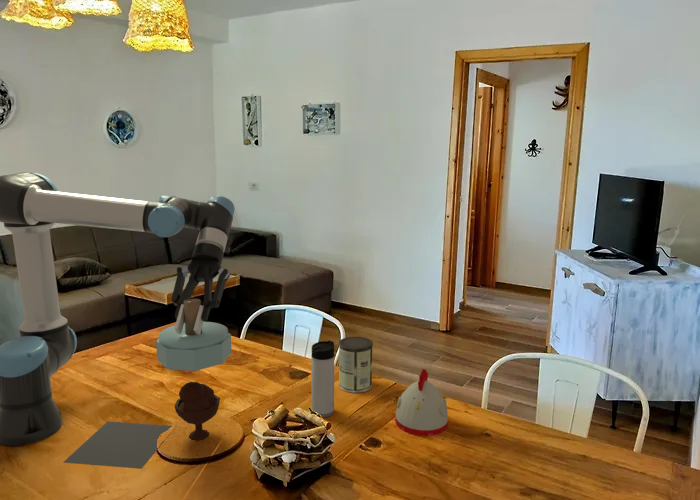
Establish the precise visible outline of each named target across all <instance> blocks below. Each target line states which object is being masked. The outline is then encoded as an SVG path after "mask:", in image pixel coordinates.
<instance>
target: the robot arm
mask: <svg viewBox="0 0 700 500" xmlns="http://www.w3.org/2000/svg"><path fill="white" fill-rule="evenodd" d="M235 208H236V207H235V205H234V203H233V202H232V200H230V199H229V198H228V197H225V196H222V195H217V196H216V195H214V196H211V197H210V198H208V200H207V202H205V201H204V202H203V201H197V200H196V201H195V200H192V199H187V198H181V197H177V196H175V195H173V196H171V195H161V196H160V197H159V198H158V200H157V201H148V200H147V201H146V200H138V199H128V198H122V197H121V198H120V197H111V196H101V195H91V194H82V193H73V192H64V191H58V188H57V186H56V185H55V184H54V182H53V181H52V180H51V179H49V177H47V176H45V175H43V174H41V173H36V172H26V171H25V172H17V173H12V174H5V175H0V223H2V224H3V226H4V228H5V229H6V230H7V231H9V232H10V233H11V234H12V241H13V247H14V248H13V249H14V253H15V254H14V255H15V262H16V269H17V275H18V281H19V289H20V296H21V304H22V310H23V317H24V320H23V322H22V323H21V324H20V325H19V336H20V337H16V338H13V340H12V339H11V340H8V341H5V342H4V343H2V344H0V445H2V446H7V447H17V446H26V445H28V444H33V443H36V442H39V441H42V440H44V439H46V438H49V437H51V436H53V435H54V434H56V433H57V432H58V431H59V430H60V429H61V428H62V426H63V417H62V413H61V412H60V411H59V409H58V406H57V404H56V402H55V400H54V398H53V395H52V393H53V392H52V383H51V382H52V381H51V377H52V376H53V375H55V373H56V372H58V370H60V369H61V368H62V367H63V366H65V365H66V364H67V363H68V362H69V361H70V360H71V359H72V357H73V355H74V353H75V352H76V349H77V344H78V341H77V340H78V339H77V335H76V333H75V331H74V330H73V329H72V328H71V327H70V326H69V323H68V318H66V317H64V316H63V315H62V314H61V309H60V299H59V292H58V285H57V278H56V270H55V269H56V268H55V263H54V255H53V254H54V253H53V247H52V240H51V239H52V238H51V233H50V231H51V228H52V227H53V226H54V225H55V224H62V225H63V224H64V225H73V226H82V227H93V228H102V229H114V230H124V231H131V232H132V231H133V232H143V233H149V234H154V235H156V236H157V237H160V238H168V237H172V236H173V237H174V236H175V235H177V234H178V233H180V232H181V231H182V230H183V229H184V228H187V229H192V230H197V231H199V232H198V235H197V237H196V242H195V245H194V249H193V252H192V255H191V259H190V260H191V261H190V262H189V264H188V265H187V266H186V267H183V268H182V267H180V266H178V267H176V274H177V275H176V279H175V283H174V288H173V291H172V295H171V299H170V300H171V302H172V303H173V305H174V306H175V307H176V310H175V314H174V317H175V319H176V321H175V324H174V325H175V328H174V329H175V330H176V332H177V333H178V334H181V333H182V329H183V325H184V323H185V319H184V300H187V299H191V297H192V295H193V294H194V291H195V289H196V287H198V285H199V284H200V283H204V285H203V288H204V289H203V290H204V291H203V302H202V304H203V305H202V304H201V305H200V307H199V311H198V315H197V318H196V322H195V326H194V331H195V333H196V334H197V335H200V333H201V329H202V325H203V322H208V319H209V316H210V311H211V310H212V309H217V308H219V307H220V304H221V300H222V297H223V293H224V290H225V286H226V283H227V281H228V280H229V278H230V277H231V274H230V272H229V270H228V269H227V268H224V269H223V268H222V263H223V259H224V253H225V250H226V246H227V243H228V239H229V235H230V231H231V227H232V224H233V221H234V220H233V219H234V215H235ZM188 273H189V274H190V275H189V277H188ZM217 276H218V277H217ZM187 277H188V280H187V283H185V282H186V278H187ZM215 278H217V281H216V286H215V288H214V291H213V285H214V279H215ZM185 284H186V285H185ZM212 294H213V295H212Z"/></svg>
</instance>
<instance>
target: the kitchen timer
mask: <svg viewBox="0 0 700 500" xmlns="http://www.w3.org/2000/svg"><path fill="white" fill-rule="evenodd" d="M428 375H429V372H428V371H427V369H425V368H422V369H421V371H420V374H419V377H418V381H415V382H413V383H411V384H410V385H409V386H408V387H407V388H406V389H405V390H404V391H402V393H401V394H400V396H399V397H398V400H397V404H396V410H395V411H396V412H395V425H396V426H397V427H398V428H399V429H400V430H401V431H403V432H404V433H407V434H409V435H412V436H413V435H414V436H419V437H431V436H438V435H440V434H442V433H444V432H446V430H447V429H448V424H449V423H448V422H449V420H448V419H449V415H448V404H447V399H446V398H443V395H442V394H441V392H440V391H439V390H438V388H437V387H436V386H435V385H434V384H432V382H430V381H428V378H429V376H428Z"/></svg>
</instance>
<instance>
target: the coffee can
mask: <svg viewBox="0 0 700 500" xmlns="http://www.w3.org/2000/svg"><path fill="white" fill-rule="evenodd" d="M373 345H374V342H373V341H372V340H371V339H370V338H367V337H363V336H348V337H344V338H341V339H339V341H338V346H339V349H338V350H339V351H338V358H339V359H338V360H339V361H338V364H339V366H338V372H339V374H338V375H339V377H338V380H339V381H338V387H339V388H340V389H341V390H342V391H344V392H347V393H352V394H353V393H354V394H360V393H364V392H367V391H369V390H371V389H372V388H373V384H372V383H373V381H372V380H373Z"/></svg>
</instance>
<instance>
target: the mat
mask: <svg viewBox="0 0 700 500" xmlns="http://www.w3.org/2000/svg"><path fill="white" fill-rule="evenodd" d="M172 426H173V425H165V424H164V425H162V424H152V423H151V424H150V423H149V424H148V423H138V422H137V423H136V422H120V421H111V420H110V421H106V422H105V423H104V424H103V425H101V427H99V429H97V431H95V432H94V433H93V434H92V435H91V436H90V437H89V438H88V439H87V440H85V442H83V443H82V444H81V445H80V446H79V447H78V448H77V449H76V450H74V452H72V453H71V454H70V455H69V456H68V457H67V458H66V459H65V460H64V461H63V463H66V464H68V463H69V464H79V465H81V464H82V465H92V466H102V467H104V466H105V467H117V468H130V469H143V468H144V467H145V465H146V464H147V463H148V461H149V460H150V459H151V458H152V457H153V456H154V454H155V453H157V451H158V449H159V448H157V439H158V438H159V436H161V435H160V434H162V433H163V432H165V431H167V430H168V429H169V428H170V427H172Z"/></svg>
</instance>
